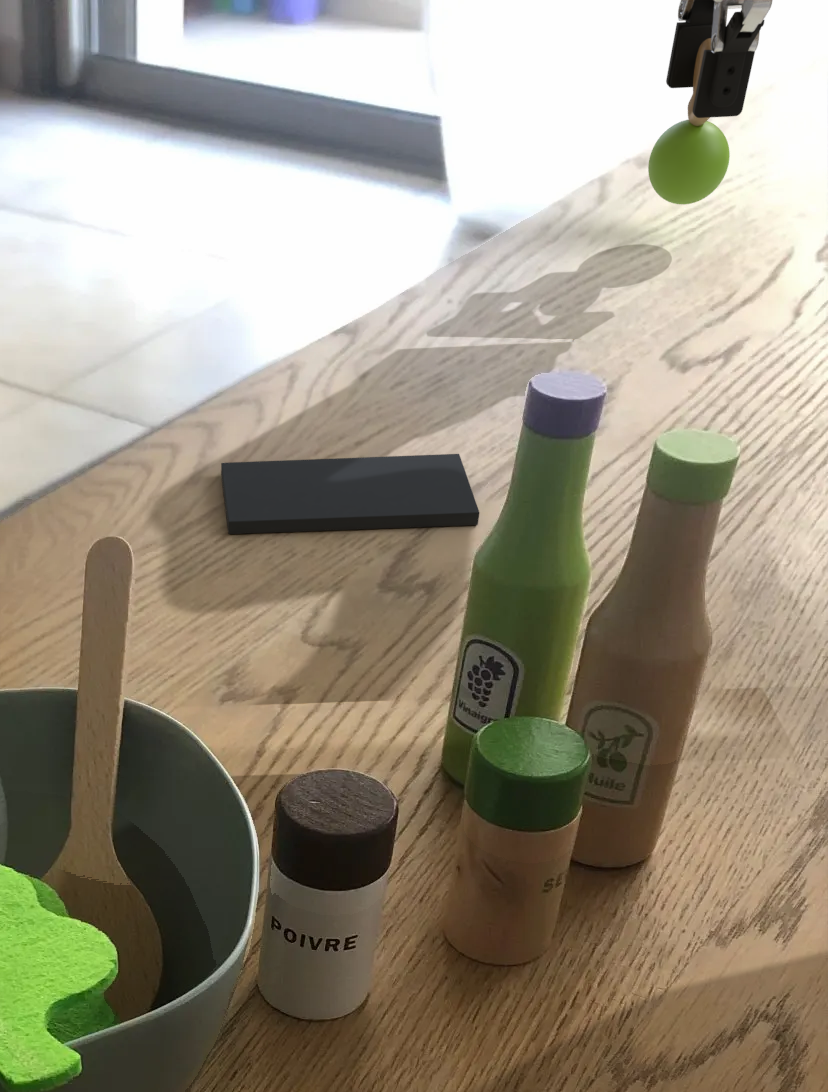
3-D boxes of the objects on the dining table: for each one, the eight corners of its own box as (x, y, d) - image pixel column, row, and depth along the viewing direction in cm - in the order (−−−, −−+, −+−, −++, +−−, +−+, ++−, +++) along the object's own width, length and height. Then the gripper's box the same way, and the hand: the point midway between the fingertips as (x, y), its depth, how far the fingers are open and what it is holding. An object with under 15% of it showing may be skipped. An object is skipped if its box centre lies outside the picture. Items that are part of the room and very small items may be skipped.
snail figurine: (647, 219, 116) (682, 28, 107) (638, 190, 120) (670, 4, 112) (727, 219, 115) (768, 26, 107) (714, 190, 119) (753, 2, 111)
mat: (457, 466, 96) (459, 453, 96) (477, 525, 91) (479, 512, 91) (220, 475, 97) (221, 462, 96) (228, 534, 92) (228, 521, 91)
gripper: (876, -202, 94) (796, 137, 106) (784, -245, 106) (721, 63, 119) (745, -194, 94) (680, 142, 107) (668, -238, 107) (618, 68, 119)
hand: (702, 97), depth 113 cm, fingers closed on snail figurine, 6 cm apart
